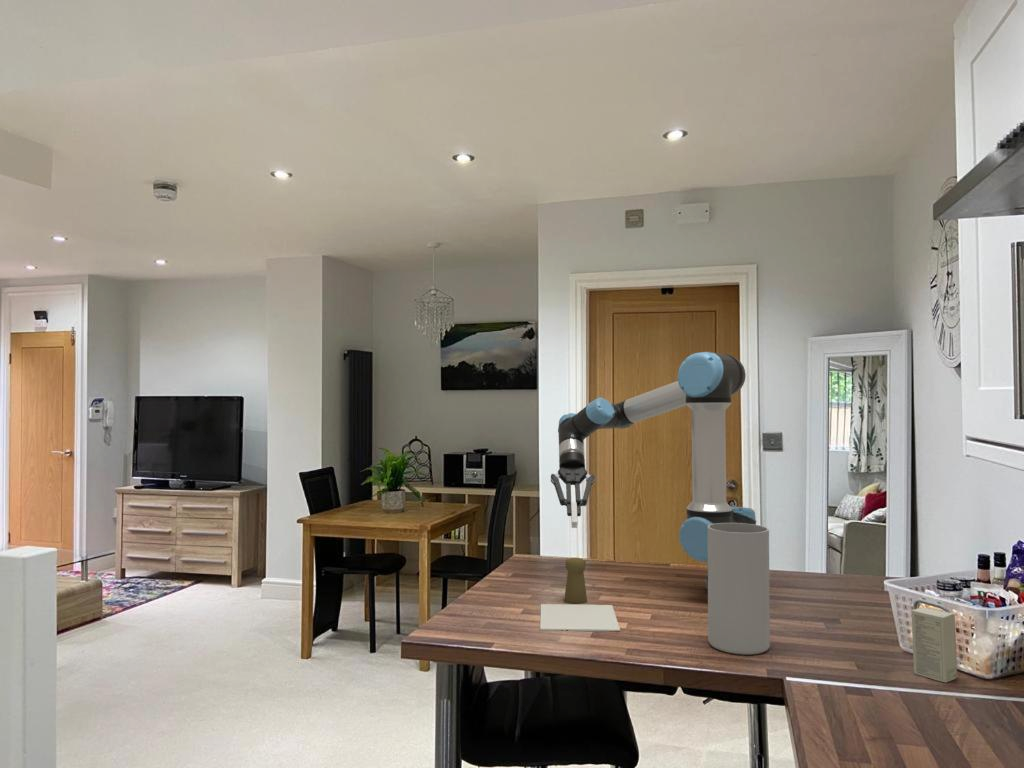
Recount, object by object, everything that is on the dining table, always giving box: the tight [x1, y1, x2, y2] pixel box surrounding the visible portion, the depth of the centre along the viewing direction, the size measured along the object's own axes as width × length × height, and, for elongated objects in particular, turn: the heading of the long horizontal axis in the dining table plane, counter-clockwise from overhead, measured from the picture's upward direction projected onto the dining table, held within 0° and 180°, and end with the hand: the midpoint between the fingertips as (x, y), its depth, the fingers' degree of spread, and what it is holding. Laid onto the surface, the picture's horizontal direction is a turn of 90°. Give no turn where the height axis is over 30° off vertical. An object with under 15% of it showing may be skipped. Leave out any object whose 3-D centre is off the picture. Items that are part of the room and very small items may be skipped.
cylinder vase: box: [707, 523, 771, 656], centre depth 156 cm, size 12×12×25 cm
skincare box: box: [911, 606, 958, 683], centre depth 138 cm, size 6×4×12 cm
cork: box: [563, 557, 588, 605], centre depth 190 cm, size 6×6×11 cm
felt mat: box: [539, 603, 621, 632], centre depth 175 cm, size 20×18×1 cm
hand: (574, 524), depth 199 cm, fingers closed
